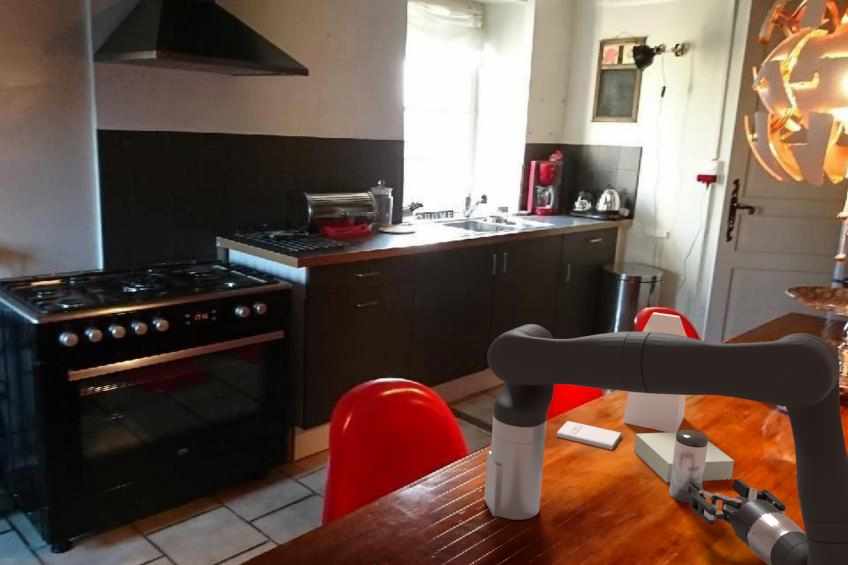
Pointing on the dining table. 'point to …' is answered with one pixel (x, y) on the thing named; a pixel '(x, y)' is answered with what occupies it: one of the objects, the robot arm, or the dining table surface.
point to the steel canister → (687, 463)
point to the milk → (657, 408)
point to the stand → (661, 451)
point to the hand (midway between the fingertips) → (712, 484)
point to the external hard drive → (589, 435)
